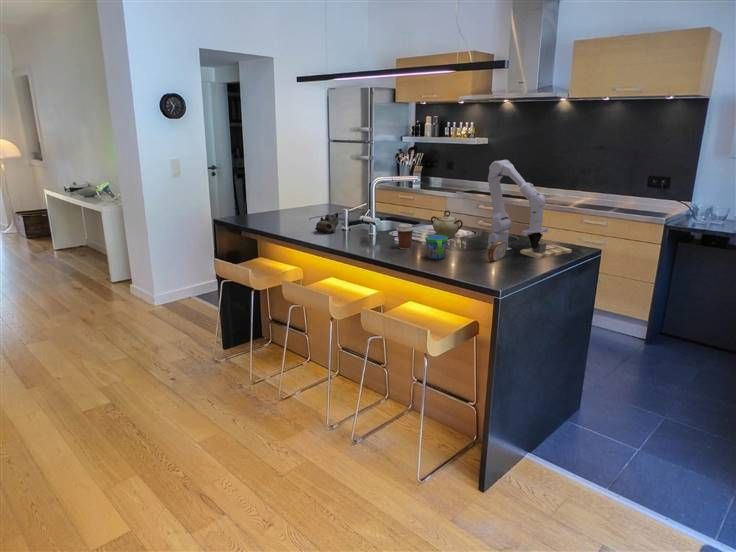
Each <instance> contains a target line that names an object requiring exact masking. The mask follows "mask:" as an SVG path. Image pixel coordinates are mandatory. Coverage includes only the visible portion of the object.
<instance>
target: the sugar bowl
mask: <svg viewBox="0 0 736 552" xmlns="http://www.w3.org/2000/svg"><path fill="white" fill-rule="evenodd" d="M447 212H448V214H446V213H447ZM433 219H434V220H433ZM430 223H431V224H432V229H433V231H434V232H435V235H443V236H447V237H448V239H451V238H454V236H455V235H456V234H457V233H458V232H459V230H460V229H462V227H463V225H464V223H463V221H462V220H461V219H457V218H456V217H453V216H451V212H450V210H448V209H447V210H445V211H444V213H443V215H442V216H439V217H437V216H435V215H434V216H431V218H430Z"/></svg>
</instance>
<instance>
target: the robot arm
mask: <svg viewBox="0 0 736 552" xmlns="http://www.w3.org/2000/svg"><path fill="white" fill-rule="evenodd" d="M488 170H489V172H488V175H487V182H488V188H489V192H490V198H491V204H492V209H493V216H492V217H491V221H492V222H491V229H492V231H493V232H491V233H490V234H489V235H488V240H487V247H486V249H487V250H489V248H490V246H491V245H492V244H493V243H495V242H498V241H504V242H506V244H507V247H506V251H510V250H512V248H511V247H509V234H510V233H509V232H510V229H511V228H512V225H513V224H512V220H511V219H510V217H509V214H508V212H506V207H505V202H504V198H503V192H502V187H501V180H502V178H503V177H504V176H505V177H506V176H507V177H509V178H510V179H512V181H513V182H514V183H515V184H516V185H517V186H518V187H519V191H520V193H521V194H522V195H523V196H524V197H525V198H526V200H528V205H529V206H530V213H529V214H530V215H529V216H530V217H529V227H528V229H525V230H522V233H521V235H522V236H528V240H529V241H530V247H531V248H533V249H536V248H537V245H538V243H539V241H540V240H541V239H542V238H543V233H548V232H549V228H548V227H543V219H544V207H545V205H546V203H547V198H546V195H544V194H543V193H541V192H540V191H538V190H537V189H536V188H535V187H534V184H533V183H531V182H526V180H525V179H524V177H522V175H521V174H520V173H519V172H518V171H517V169H516V168H515V166H514V164H512V163H511V161H510V160H508V159H502V160H494V161H493V162H491V164H490V165H489V167H488Z"/></svg>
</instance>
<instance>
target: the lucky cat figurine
mask: <svg viewBox="0 0 736 552" xmlns="http://www.w3.org/2000/svg"><path fill="white" fill-rule="evenodd" d="M339 223H340V218H339V212H328V213H327V214H326V215H325V216H324V217H323V216H321V217H320V220H319V221H317V222H316V225H315V227H314V230H315V231H317V232H320V231H321V232H327V233H331V234H334V233H336V231H337V230H336V228H337V226H338V224H339Z"/></svg>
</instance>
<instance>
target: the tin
mask: <svg viewBox="0 0 736 552" xmlns="http://www.w3.org/2000/svg"><path fill="white" fill-rule="evenodd" d="M506 247H507V244H506V242H504V241H498V242H495V243H493V244H492V245H491V246H490V248H489V249H488V253H487V259H488V261H490V262H491V261H492V262H497V261H499V260H501V259H503V258H504V257H505V256H506V253H507V250H506Z"/></svg>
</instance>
